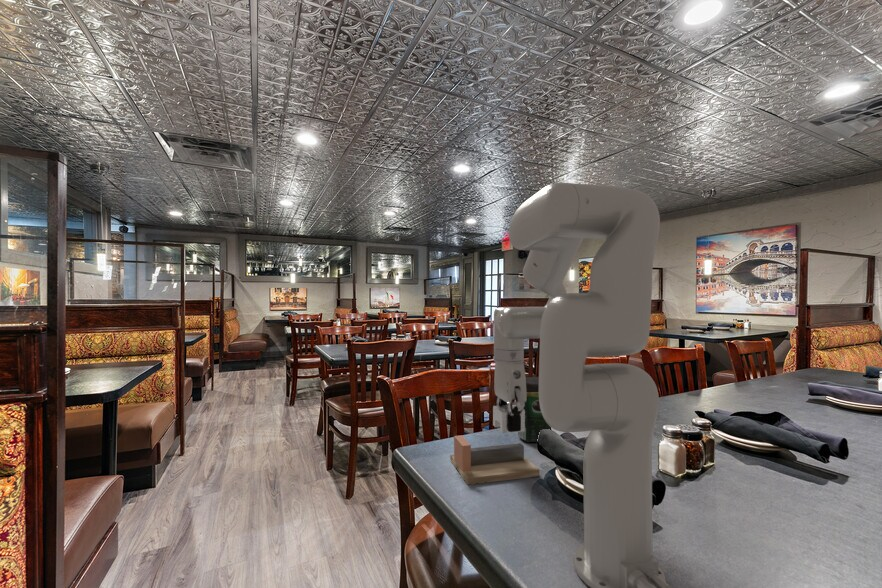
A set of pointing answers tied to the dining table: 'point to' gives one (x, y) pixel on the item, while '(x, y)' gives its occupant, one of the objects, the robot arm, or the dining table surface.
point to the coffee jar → (532, 412)
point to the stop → (462, 453)
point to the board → (498, 471)
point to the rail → (497, 454)
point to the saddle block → (505, 418)
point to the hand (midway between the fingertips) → (508, 425)
